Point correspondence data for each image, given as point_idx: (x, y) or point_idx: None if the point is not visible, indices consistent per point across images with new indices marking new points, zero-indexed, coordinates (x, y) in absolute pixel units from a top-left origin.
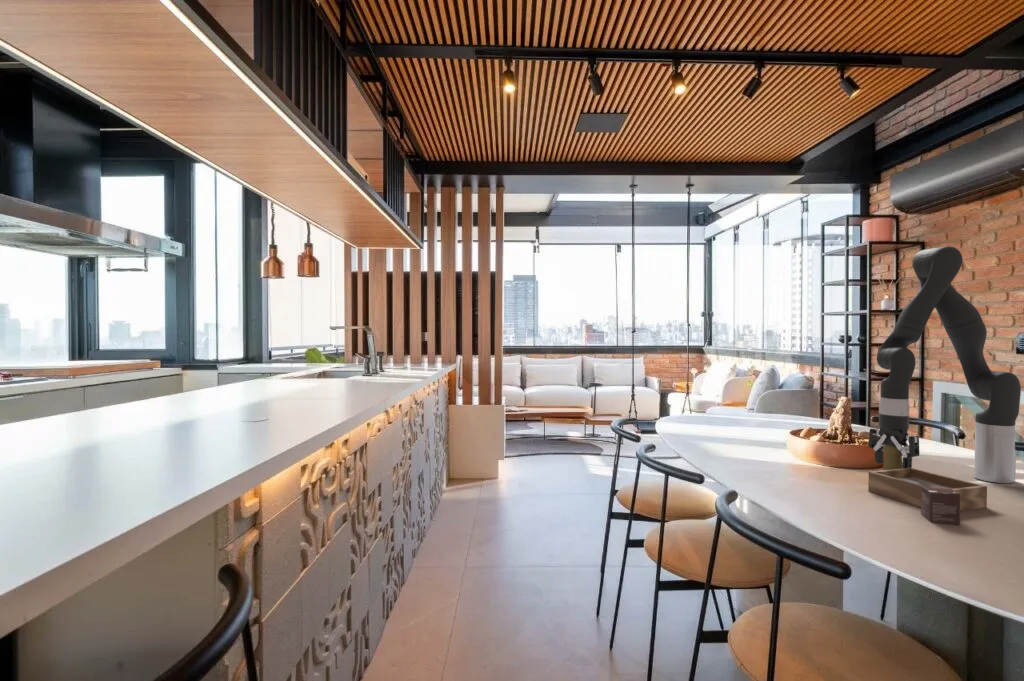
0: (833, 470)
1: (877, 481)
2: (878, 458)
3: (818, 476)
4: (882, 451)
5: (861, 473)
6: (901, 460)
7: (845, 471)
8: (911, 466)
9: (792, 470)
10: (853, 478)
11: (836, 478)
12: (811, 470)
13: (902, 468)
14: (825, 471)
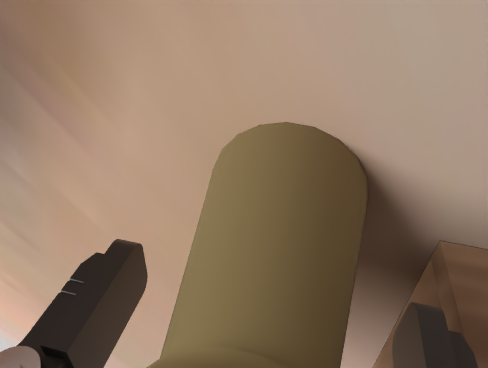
0: (7, 235)
1: None
2: (124, 320)
3: (113, 353)
4: (71, 361)
5: (73, 174)
6: (338, 360)
7: (26, 206)
8: (473, 360)
9: (21, 340)
10: (168, 298)
11: (153, 339)
12: (16, 300)
13: (352, 280)
14: (31, 277)
